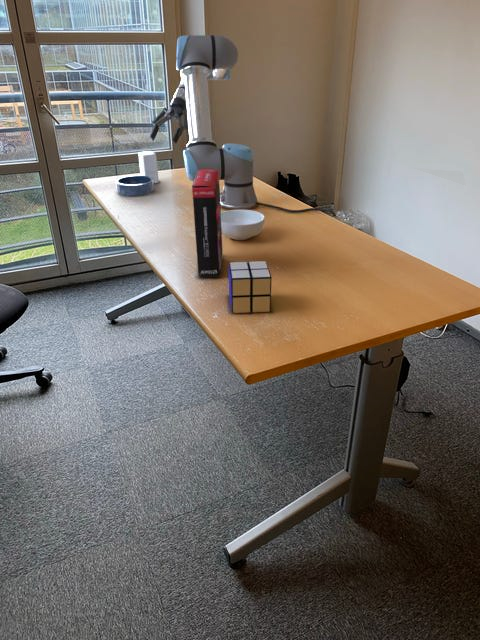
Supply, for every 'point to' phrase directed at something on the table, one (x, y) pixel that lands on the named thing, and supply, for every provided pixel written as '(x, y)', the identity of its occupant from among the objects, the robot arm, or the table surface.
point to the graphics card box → (207, 222)
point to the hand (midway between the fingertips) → (162, 140)
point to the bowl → (134, 185)
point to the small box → (148, 165)
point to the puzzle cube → (249, 287)
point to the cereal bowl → (241, 223)
